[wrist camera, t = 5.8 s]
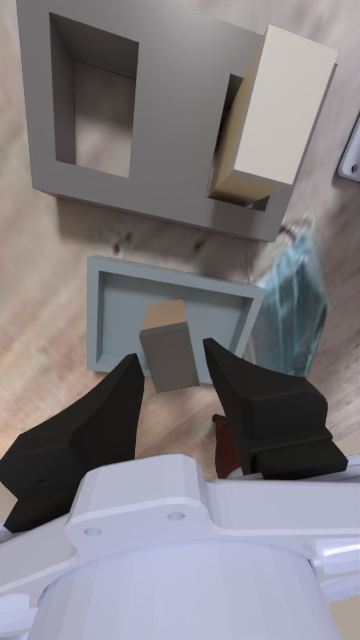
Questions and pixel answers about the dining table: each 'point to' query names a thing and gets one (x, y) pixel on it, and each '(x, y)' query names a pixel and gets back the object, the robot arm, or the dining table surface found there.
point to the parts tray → (155, 287)
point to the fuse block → (143, 107)
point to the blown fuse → (168, 346)
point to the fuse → (271, 118)
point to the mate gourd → (225, 451)
